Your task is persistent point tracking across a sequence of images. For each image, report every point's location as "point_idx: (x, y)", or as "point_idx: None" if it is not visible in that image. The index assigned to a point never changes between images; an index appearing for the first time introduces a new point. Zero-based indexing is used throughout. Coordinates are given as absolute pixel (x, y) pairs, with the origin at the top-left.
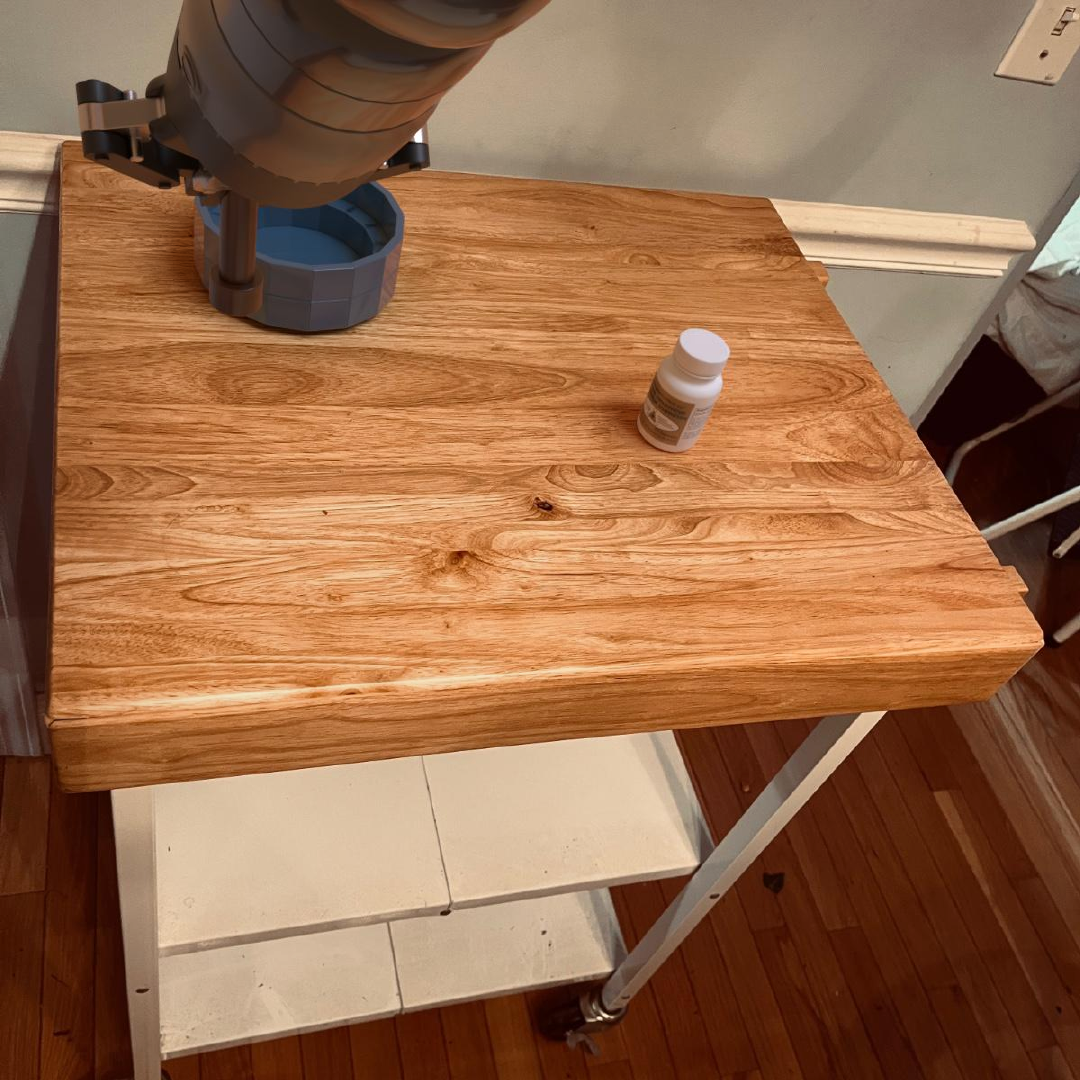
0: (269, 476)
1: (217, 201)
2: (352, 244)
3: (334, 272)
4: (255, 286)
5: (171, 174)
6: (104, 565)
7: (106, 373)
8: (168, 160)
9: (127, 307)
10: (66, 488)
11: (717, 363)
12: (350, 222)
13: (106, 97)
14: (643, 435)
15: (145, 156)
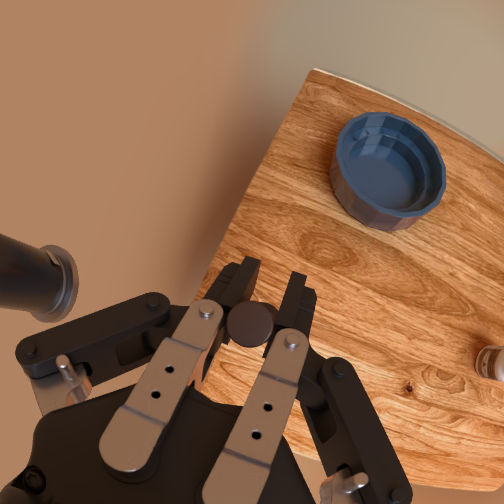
0: None
1: None
2: (416, 174)
3: (390, 215)
4: (267, 341)
5: (151, 358)
6: None
7: (255, 213)
8: (151, 345)
9: (287, 172)
10: (204, 280)
11: None
12: (419, 165)
13: (34, 373)
14: (476, 362)
15: (102, 376)
